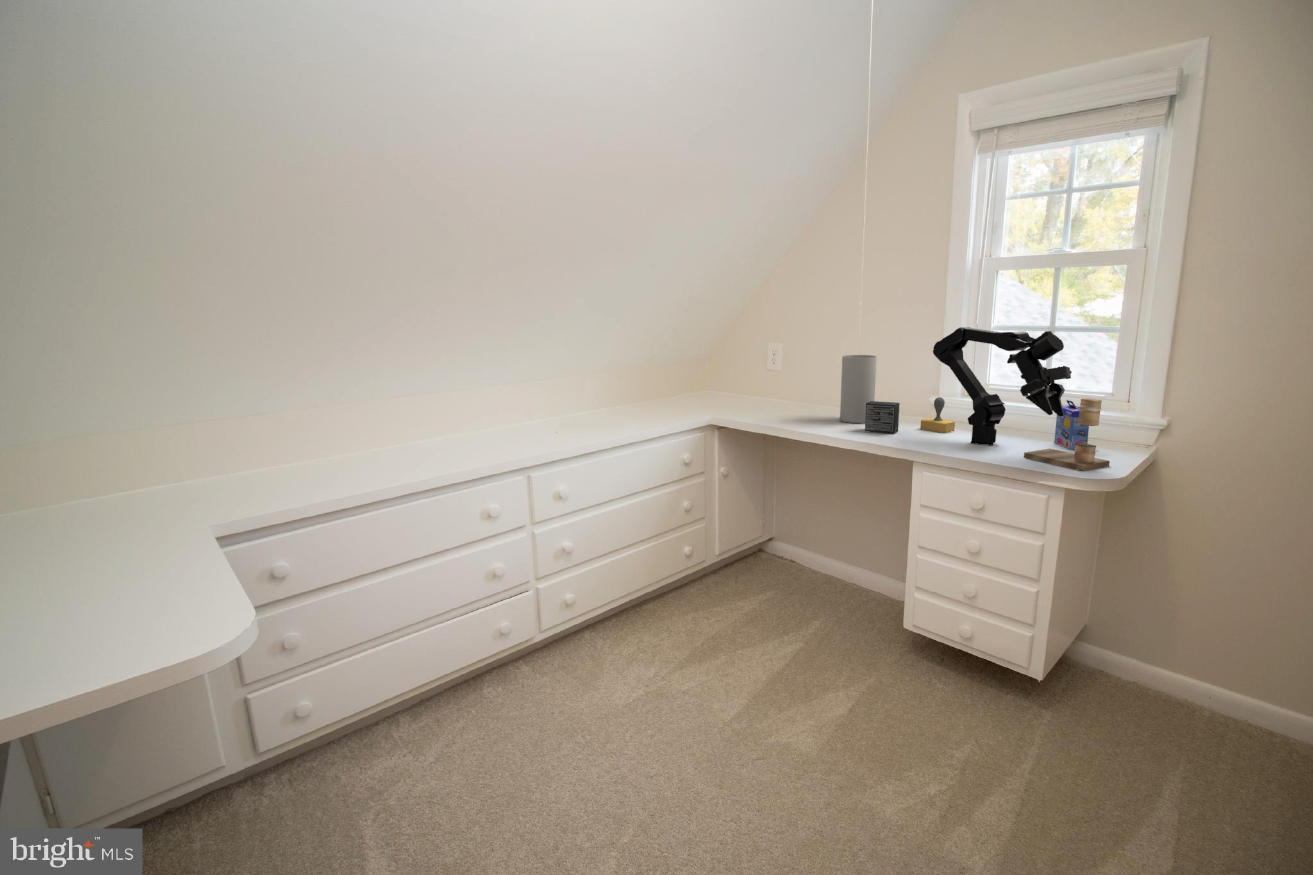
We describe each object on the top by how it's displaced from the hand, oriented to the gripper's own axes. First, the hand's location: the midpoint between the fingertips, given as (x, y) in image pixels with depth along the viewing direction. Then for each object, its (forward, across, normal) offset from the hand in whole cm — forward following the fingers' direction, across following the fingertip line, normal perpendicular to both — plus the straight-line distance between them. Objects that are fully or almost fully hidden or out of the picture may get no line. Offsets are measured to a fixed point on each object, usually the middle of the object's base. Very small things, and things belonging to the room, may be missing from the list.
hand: (1056, 415), depth 186 cm
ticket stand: (+13, 0, +4) cm, 13 cm away
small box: (-21, +4, +53) cm, 57 cm away
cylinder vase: (-32, +15, +66) cm, 75 cm away
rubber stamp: (-16, +18, +41) cm, 47 cm away
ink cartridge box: (+7, +22, +6) cm, 24 cm away
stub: (+6, -4, -7) cm, 10 cm away
